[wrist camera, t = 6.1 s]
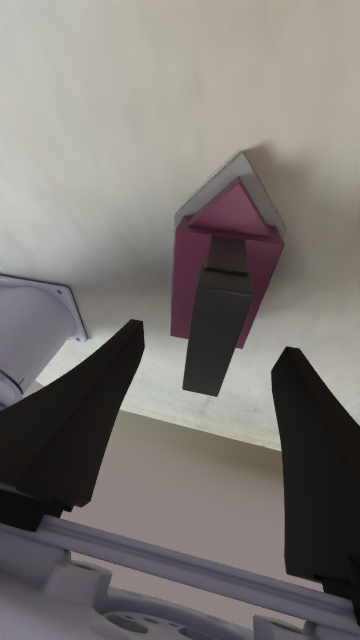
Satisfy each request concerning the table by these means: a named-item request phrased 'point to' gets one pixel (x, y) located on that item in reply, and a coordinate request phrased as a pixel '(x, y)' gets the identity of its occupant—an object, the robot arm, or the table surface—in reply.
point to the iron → (221, 270)
